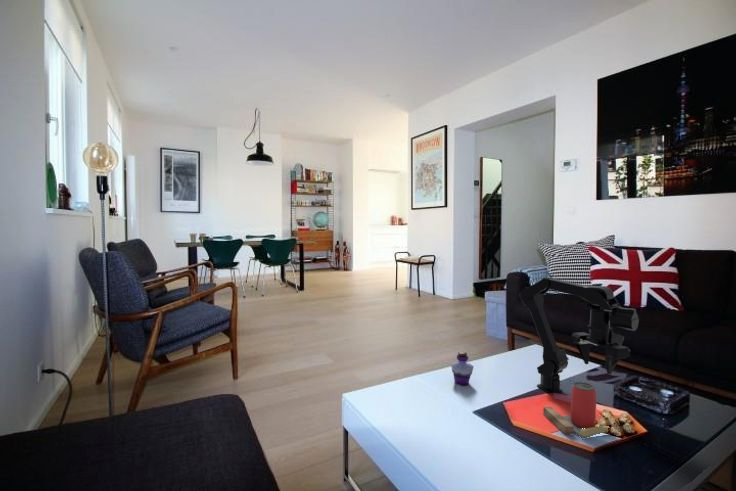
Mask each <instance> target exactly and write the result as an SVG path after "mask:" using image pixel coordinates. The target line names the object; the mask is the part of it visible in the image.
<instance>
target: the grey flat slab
mask: <svg viewBox="0 0 736 491" xmlns="http://www.w3.org/2000/svg"><path fill="white" fill-rule="evenodd" d="M561 416H562V417H563V418H564V419H566V420H567V421H568V422H569V423H570V424H571V425H572V426H574V433H575V434H574V435H576V434H577V435H578V436H580V437H581V438H587V437H590V436H593V435H596V434H600V433H603V432H605V431H606V430H607V429H608V428H610V427H609V426H606V425H603V426H599V427H592V428H585V429H584V428H583V429H582V428H581V427H578V426H576V425H574V424H573V423H572V422H571V419H570V418H571V414H570V415H568V414H567V415H561ZM596 422H597V421H596V420H595V423H596ZM577 435H576V436H577ZM578 436H577V437H578ZM580 437H579V438H580ZM581 438H580V439H581ZM587 439H588V438H587Z"/></svg>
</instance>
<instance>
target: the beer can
mask: <svg viewBox="0 0 736 491" xmlns="http://www.w3.org/2000/svg"><path fill="white" fill-rule="evenodd" d="M570 399H571V400H570V415H571V418H570V419H571V422H572V423H573V424H574V425H576V426H578V427H581V428H592V427H595V421H596V419H597V418H596V416H597V415H596V413H597V412H596V411H597V392H596V388H595V386H594V385H592V384H591V383H588V382H581V381H576V382H574V383H573V386H572V388H571V398H570Z"/></svg>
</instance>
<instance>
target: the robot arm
mask: <svg viewBox="0 0 736 491" xmlns="http://www.w3.org/2000/svg"><path fill="white" fill-rule="evenodd" d="M550 290H553V291H557V292H561V293H564V294H569V295H572V296H577V297H580V298H581V299H583V300H585V301H586V302H588V303H587V304H585V305H584V306H583V309H586V310H590V311H589V313H590V314H589V315H590V317H589V324H588V325H586V329H588V330H589V333H587V332H584V331H582V332H573V333H572V334H571V336H570V341H571V342H573V344H574V345H575V346H576V348H577V350H578V352H579V355H580V356H581V359H582V360H583V363H584V364H585V365H589V362H590V354H591V353H590V352H591V348H592V346H595V347H598V348H601V349H603V350H604V352H605V354H604V361H605V369H606V373H607V375H610V376H611V375H612V374H613V371H614V370H615V367H616V365H618V362H620V360H621V359H626V358H630V357H631V350H630V349H629V347H628V346H625V345H623V342H624V339H625V336H623V335H621V334H618V333H615V332H614V328H618V329H624V330H628V331H633V332H635V331H636V330H637V329H638V327H639V321H640V318H639V315H638V313H637V309H636V308H626V307H622V306H621V305H620V302H618V300H617V299H616V297H615V295H614V292H613V290H612V289H611V287H608V286H607V285H606V286H604V285H584V284H579V283H575V282H570V281H566V280H562V279H556V278H553V277H551V276H549V277H544V278H542V279H540V280H539V281H536V282H534V284H532V285H530V286H528V287H524V288H522V289H521V290H520V292H519V298H520V300H521V302H522V303H523V305H524V307H525V308H526V309H527V310H529V312H530V315H531V317H532V320H533V324H534V327H535V329H536V331H537V334H538V335H537V336H538V337H539V340H540V342H541V347H542V360H543V362H542V364H540V365H538V366H537V367H536V370H537V372H538V374H540V383H539V384H536V386H537V387H538V388H539V389H542V390H543V391H544V392H546V393H547V394H552V393H553V392H554V393H562V392H563V389H562V388H560V387H561V379H560V377H561V375H560V373H563V371H564V370H565V369H567V368H568V365H569V360H570V358H569V357H568V355H567V352H566V349H565V348H560V347H559V346H558V345H557V342H556V340H555V337H554V334H553V332H552V328H551V326H550V324H549V320H548V318H547V314H546V312H545V309H544V302H545V301H544V300H545V299H544V295H545V294H546V293H548V292H549V291H550ZM611 325H612V326H613V327H614V328H613V327H611Z"/></svg>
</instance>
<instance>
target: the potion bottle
mask: <svg viewBox="0 0 736 491" xmlns="http://www.w3.org/2000/svg"><path fill="white" fill-rule="evenodd" d="M456 360H458V361H454V362H452V363H451V364H450V367H451V373H452V375H453V380H454V384H456V385H457V386H462V387H464V386H468V385H469V384H470V380H471V377H472V375H473V370H474V365H473V364H471V363H470V362H467V361H468V360H469V356H468V352H465V351H458V352H457V355H456Z"/></svg>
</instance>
